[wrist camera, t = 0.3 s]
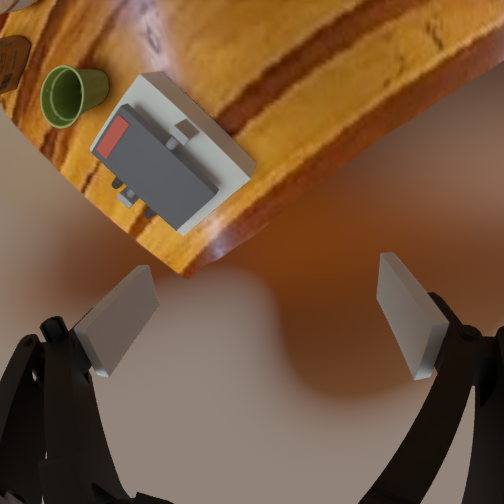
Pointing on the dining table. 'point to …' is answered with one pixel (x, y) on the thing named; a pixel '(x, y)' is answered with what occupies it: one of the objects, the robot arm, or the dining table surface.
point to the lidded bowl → (14, 5)
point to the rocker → (153, 167)
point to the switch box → (186, 140)
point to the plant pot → (71, 94)
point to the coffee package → (12, 61)
